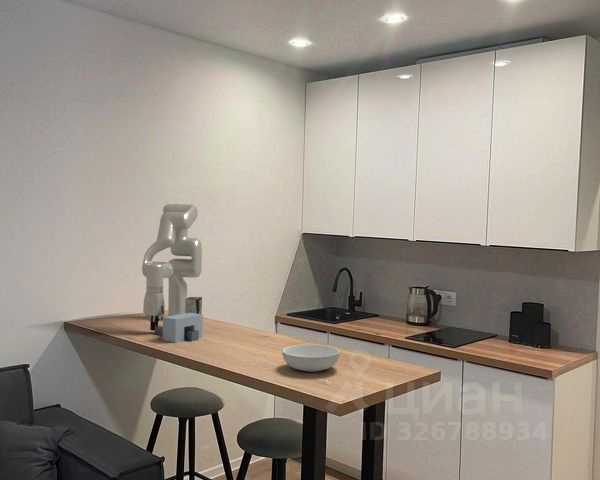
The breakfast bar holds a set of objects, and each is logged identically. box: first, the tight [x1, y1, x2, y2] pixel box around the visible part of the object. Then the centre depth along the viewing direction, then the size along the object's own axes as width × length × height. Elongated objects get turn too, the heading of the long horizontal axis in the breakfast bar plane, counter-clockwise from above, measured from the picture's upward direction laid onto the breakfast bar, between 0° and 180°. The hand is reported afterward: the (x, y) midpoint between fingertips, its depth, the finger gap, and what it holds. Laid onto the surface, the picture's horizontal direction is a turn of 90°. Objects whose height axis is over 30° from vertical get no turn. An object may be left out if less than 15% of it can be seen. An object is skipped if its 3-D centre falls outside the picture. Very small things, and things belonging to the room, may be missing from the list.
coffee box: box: [185, 296, 203, 315], centre depth 273 cm, size 9×6×16 cm
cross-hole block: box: [162, 313, 204, 344], centre depth 259 cm, size 8×16×10 cm, turn 144°
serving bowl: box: [281, 343, 341, 373], centre depth 214 cm, size 21×21×7 cm
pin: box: [154, 324, 200, 342], centre depth 263 cm, size 24×8×5 cm, turn 56°
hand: (154, 329), depth 270 cm, fingers closed
